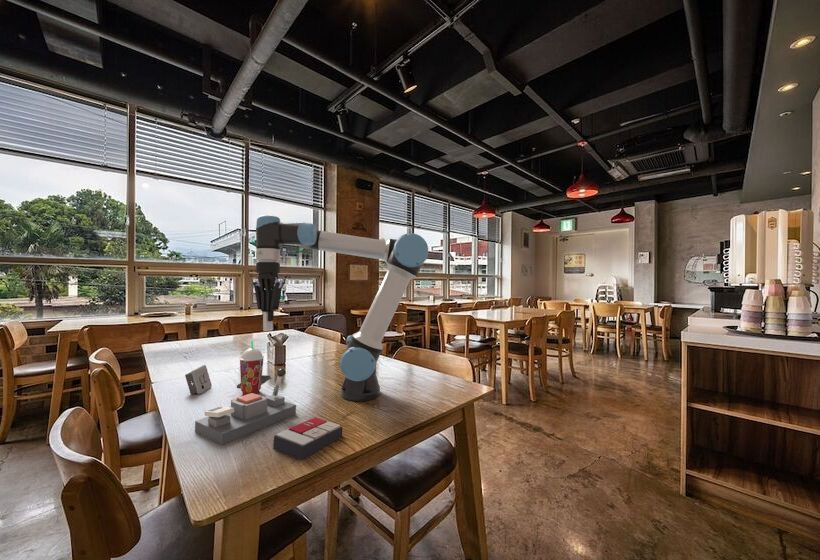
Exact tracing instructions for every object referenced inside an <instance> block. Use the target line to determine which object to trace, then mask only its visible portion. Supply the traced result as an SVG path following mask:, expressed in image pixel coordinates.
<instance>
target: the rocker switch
mask: <svg viewBox="0 0 820 560" xmlns="http://www.w3.org/2000/svg"><path fill="white" fill-rule="evenodd" d="M233 412H234V408H231V406H230V407H229V406H218V407H215V408H211V409H208V410H205V411H204V416H205V417H208V416H210V417H221V416H224V415H227V414H230V413H233Z"/></svg>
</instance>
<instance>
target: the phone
mask: <svg viewBox="0 0 820 560" xmlns="http://www.w3.org/2000/svg"><path fill="white" fill-rule="evenodd" d="M269 379H271V375H265V374H264V375H263V374H262V380H261V385H262V384H263V383H266V382H267V381H268V380H269ZM236 388H237V389H241V382H240V383H238V384H236Z"/></svg>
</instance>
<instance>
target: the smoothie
mask: <svg viewBox="0 0 820 560" xmlns="http://www.w3.org/2000/svg"><path fill="white" fill-rule="evenodd" d="M250 344H251V345H250V346H251V347H250V348H247V349H246V350H244V351H243V352H242V354H241V356H240V357H239V369H240V370H239V371H240V373H239V374H240V383H241V388H240V391H241V392H242V395H243V396H244V395H247V394H250V393H253V394H257V395H258V394H259V393H260V390H261V388H262V384H261V380H262V375H263V366H264V355H263V353H262V351H261V350H260V349H258V348H255V347H254V340H251V343H250Z"/></svg>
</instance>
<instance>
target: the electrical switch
mask: <svg viewBox="0 0 820 560" xmlns="http://www.w3.org/2000/svg"><path fill="white" fill-rule="evenodd" d="M207 367H208V366H207V365H206V364H204V365H200V366H199V367H197V368H195V369H193V370H191V371H190V372H188V373H186V374H185V375H184V377H185V380H186V383H187V387H188V389H189V390H188V391H189V393H190V395H194V394H196V395H201V394H203V393H204V392H206V391H207V390H208V389H210V388H212V386H213V385H212V381H211V379H210V373H209V372H208V368H207Z"/></svg>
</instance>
